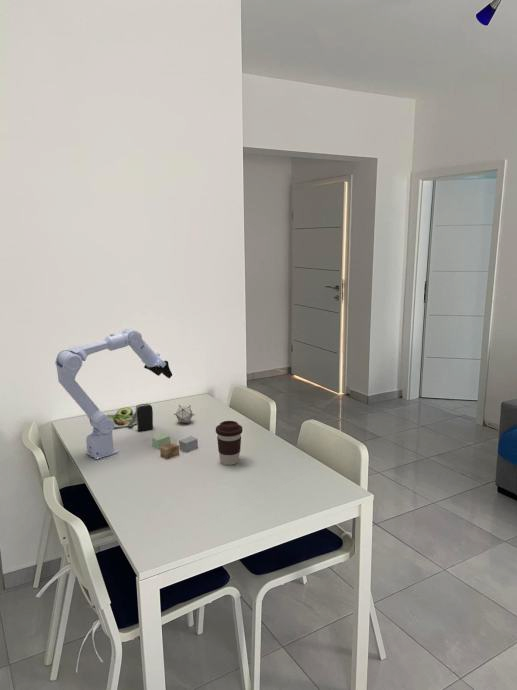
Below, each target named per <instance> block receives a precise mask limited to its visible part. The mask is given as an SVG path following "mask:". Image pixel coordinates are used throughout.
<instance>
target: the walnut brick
mask: <svg viewBox="0 0 517 690" xmlns="http://www.w3.org/2000/svg"><path fill="white" fill-rule="evenodd" d="M159 452H160V457H161V458H164V459H165V460H169V459H171V458H175V457H177V456H180V448H179V444H177V443H175V442H171V443H170V444H167V445H164V446H161V447H160V449H159ZM174 456H175V457H174Z"/></svg>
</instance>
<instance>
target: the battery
mask: <svg viewBox="0 0 517 690" xmlns="http://www.w3.org/2000/svg"><path fill="white" fill-rule="evenodd" d="M135 412H136V417H137V424H136V425H137V431H138V432H143V431H150V430H154V421H153V420H154V413H153V406H152V405H151V404H150V403H140V404H138V405H136V407H135Z"/></svg>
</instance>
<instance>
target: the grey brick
mask: <svg viewBox="0 0 517 690" xmlns="http://www.w3.org/2000/svg"><path fill="white" fill-rule="evenodd" d="M178 443H179V444H178V445H179V451H182V452H184V453H188V452H190V450H191V451H193V449H194V450H196V448H197V449H198V448H199V445H198V438H196V437H194V436H192V435H191V436H189V437H185V438H182V439H180V440H179V442H178Z"/></svg>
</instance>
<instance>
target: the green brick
mask: <svg viewBox="0 0 517 690" xmlns="http://www.w3.org/2000/svg"><path fill="white" fill-rule="evenodd" d="M151 442H152V444H151V445H152V447H153V448H154V447H155V448H154V449H156V448H157V449H156V450H160V447H161V446H164V445H167V444H170V443H172V441H171V435H168V434H166V433H162V434H159V435H156V436H153V437H152V440H151Z"/></svg>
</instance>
